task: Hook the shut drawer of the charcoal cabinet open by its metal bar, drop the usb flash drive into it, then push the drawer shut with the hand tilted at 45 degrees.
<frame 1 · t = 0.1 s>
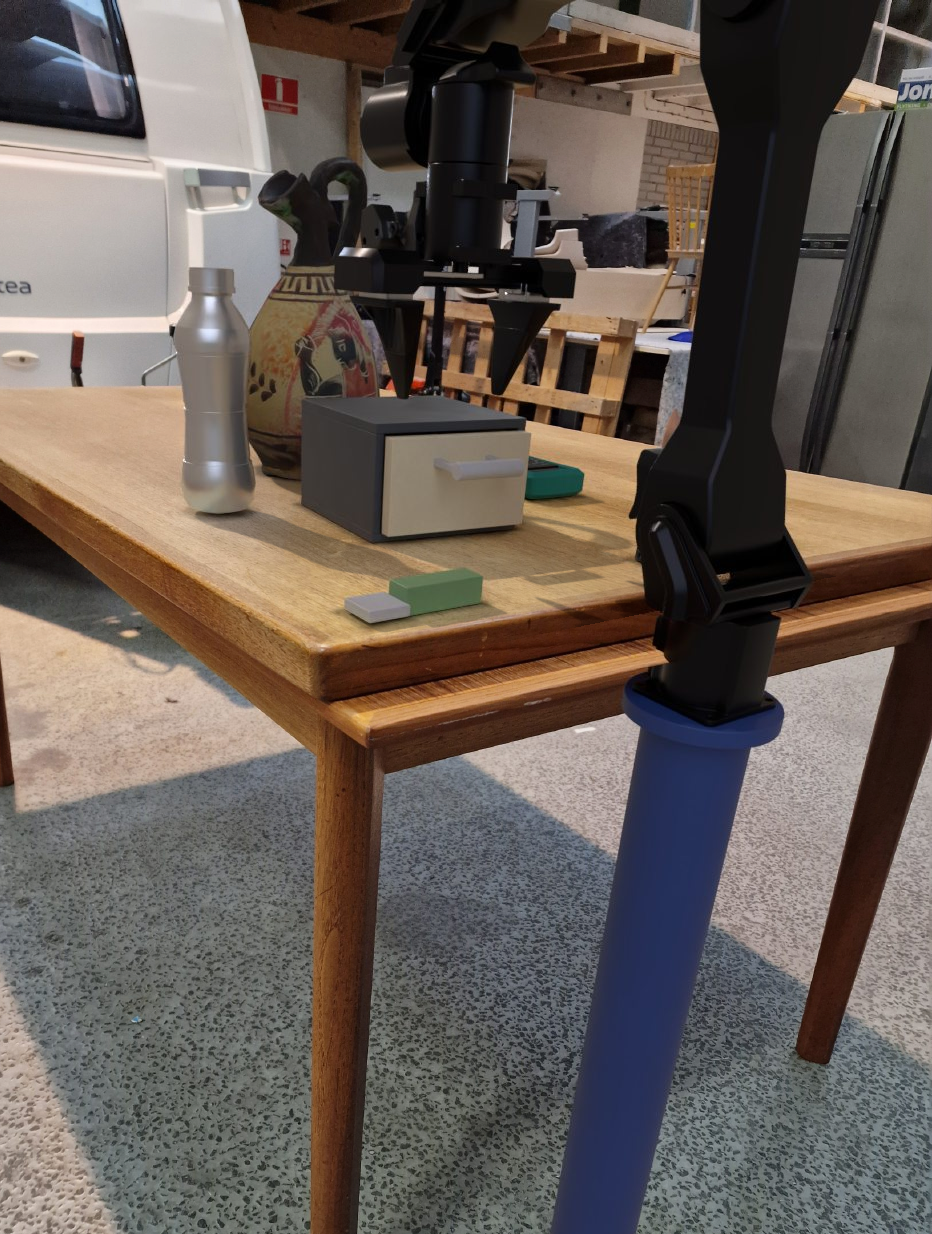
hand: (451, 396, 76), 12 cm above the table, tool pointing down, fingers open, 9 cm apart
usb flash drive: (417, 608, 66), on the table
ammunition clip: (688, 558, 81), on the table
digital multimeter: (513, 486, 104), on the table
drawer: (433, 473, 84), point 5 cm above the table, slide at 0.5 cm
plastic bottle: (219, 514, 88), on the table
cabinet: (405, 516, 89), on the table
ceramic jug: (312, 473, 106), on the table
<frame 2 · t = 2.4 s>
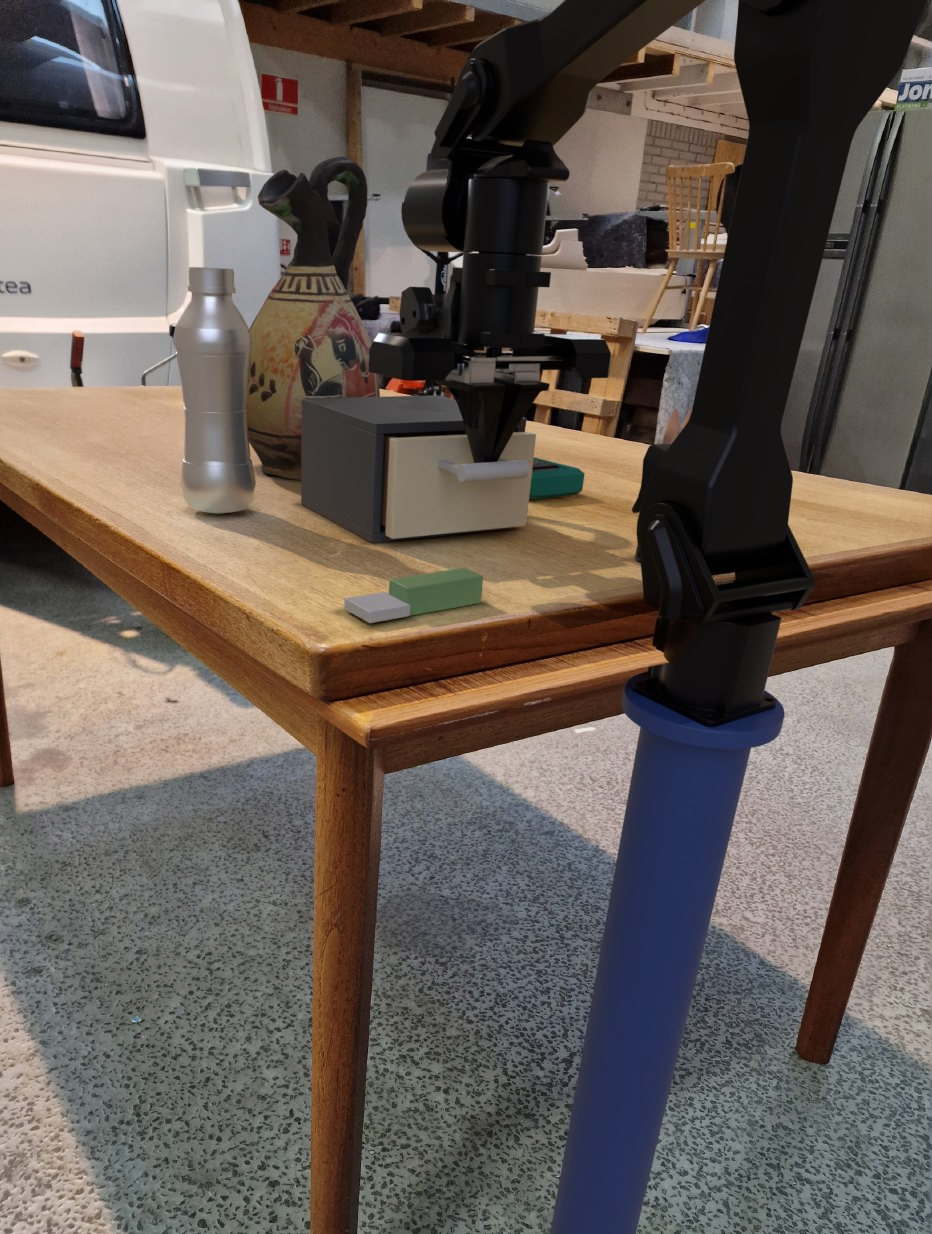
hand: (483, 472, 77), 6 cm above the table, tool pointing down, fingers closed, pressing on drawer
drawer: (437, 474, 83), point 5 cm above the table, slide at 1.2 cm, touching gripper
everything else where it was.
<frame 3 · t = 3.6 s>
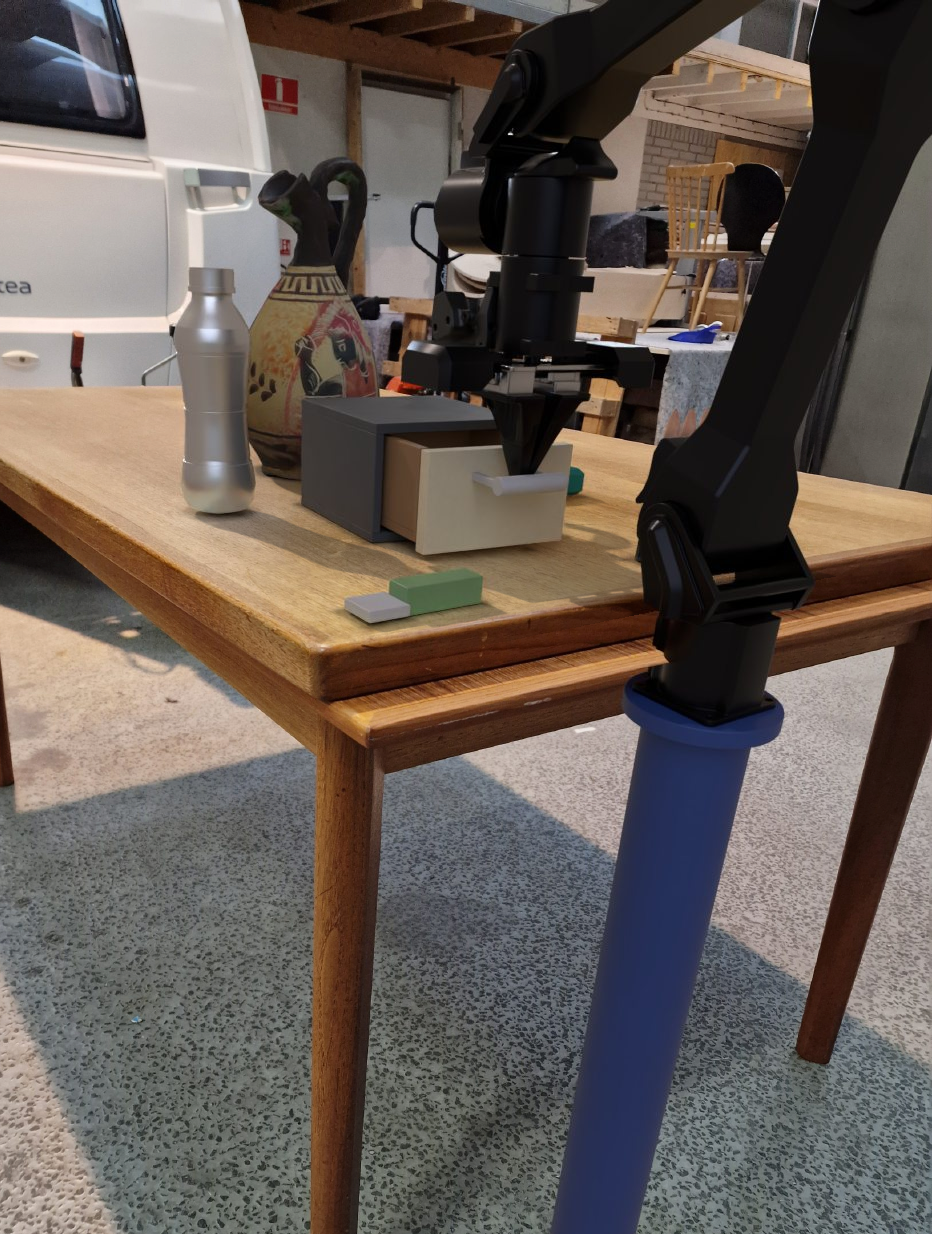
hand: (519, 486, 73), 6 cm above the table, tool pointing down, fingers closed, pressing on drawer
drawer: (468, 487, 79), point 5 cm above the table, slide at 6.1 cm, touching gripper
everything else where it was.
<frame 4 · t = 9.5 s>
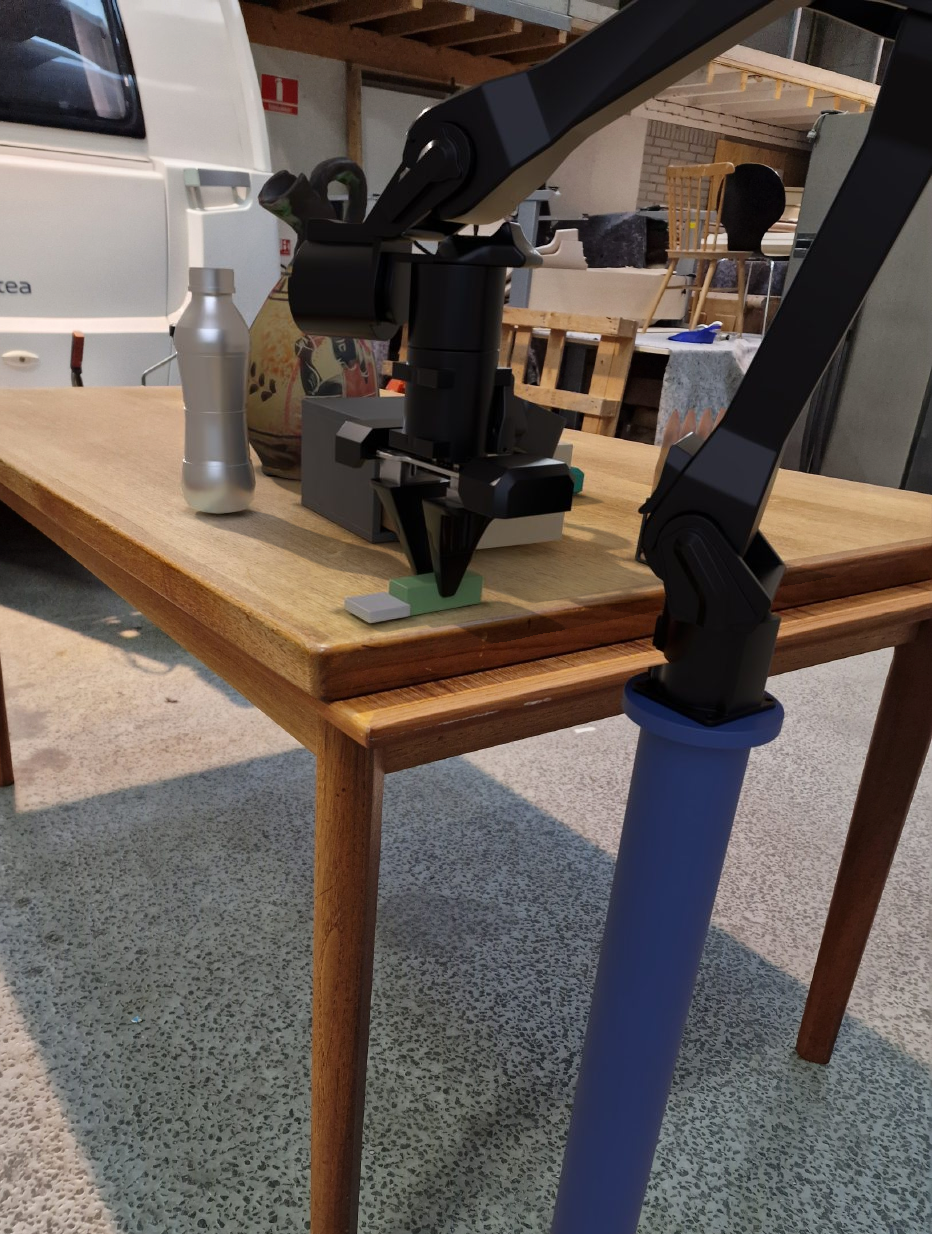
hand: (436, 591, 66), 1 cm above the table, tool pointing down, fingers closed on usb flash drive, 2 cm apart
usb flash drive: (417, 608, 66), on the table, touching gripper
drawer: (468, 487, 79), point 5 cm above the table, slide at 6.1 cm
everything else where it was.
when the fingers open (8 cm above the table, at t = 13.7 s): usb flash drive drops 5 cm, resting on drawer.
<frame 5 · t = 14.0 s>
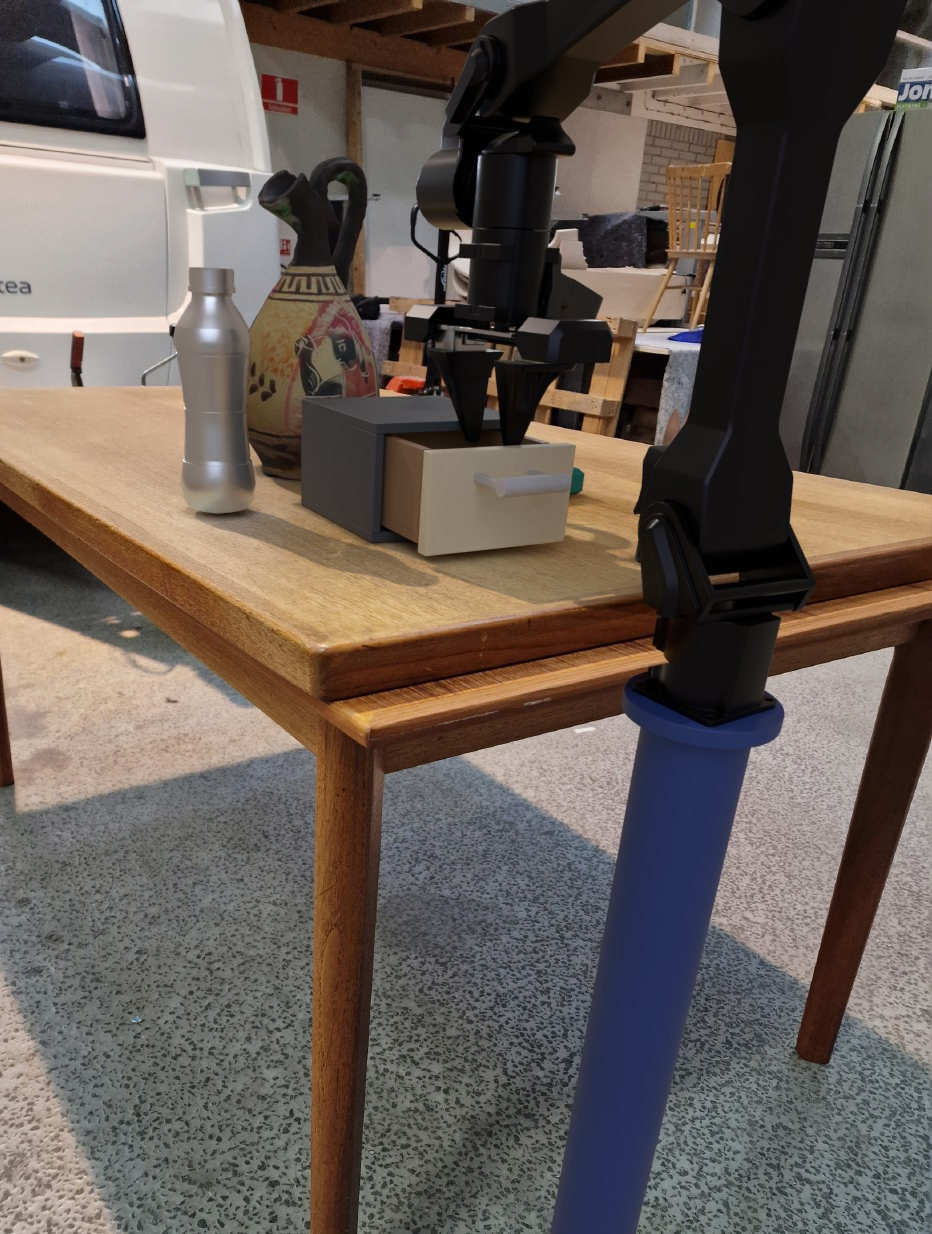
hand: (491, 447, 78), 8 cm above the table, tool pointing down, fingers open, 5 cm apart
usb flash drive: (473, 524, 80), point 2 cm above the table, touching drawer
drawer: (470, 487, 79), point 5 cm above the table, slide at 6.5 cm, touching usb flash drive
everything else where it was.
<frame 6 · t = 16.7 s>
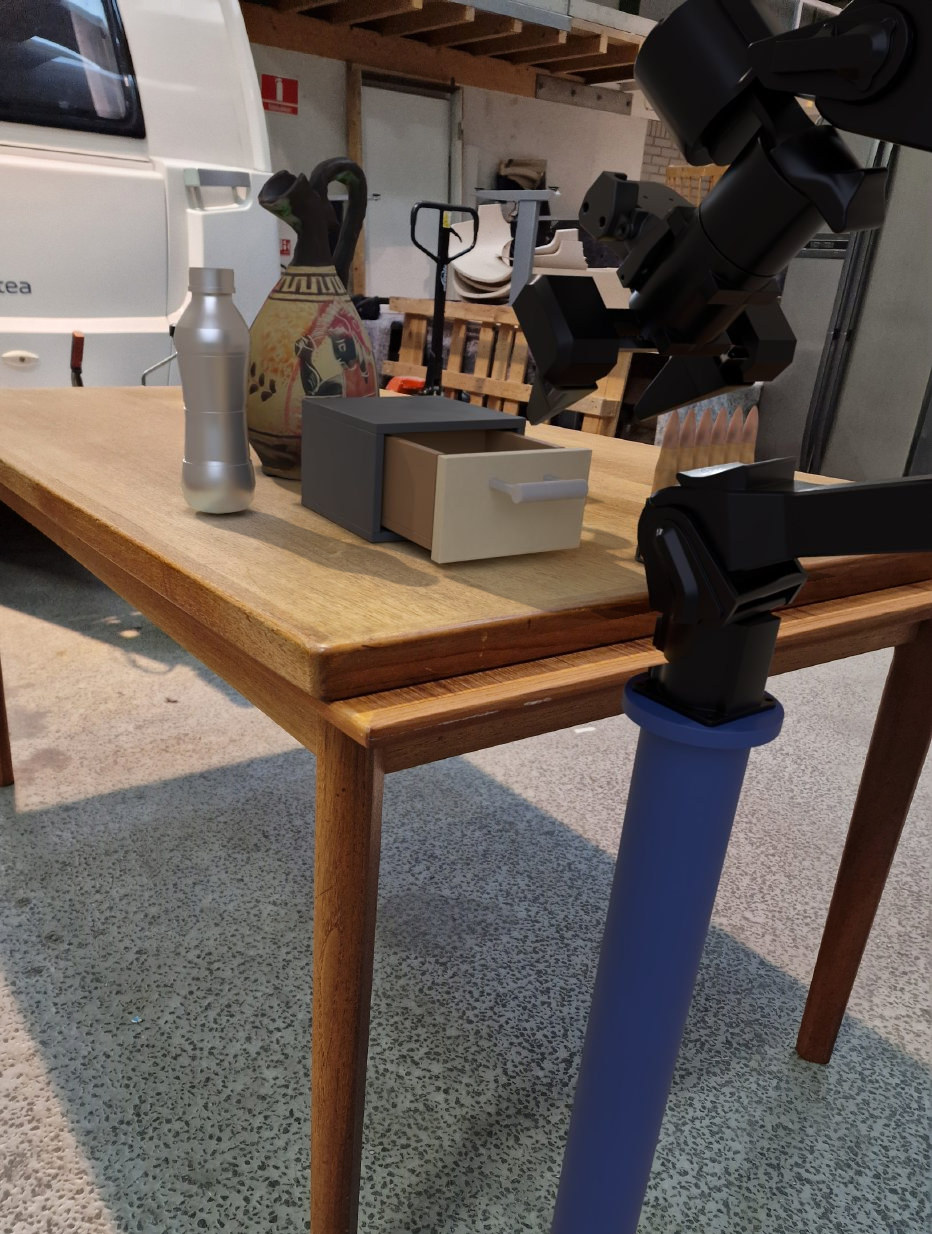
hand: (585, 417, 65), 12 cm above the table, tool tilted 45°, fingers open, 9 cm apart
usb flash drive: (487, 530, 78), point 2 cm above the table, touching drawer
drawer: (484, 493, 77), point 5 cm above the table, slide at 8.5 cm, touching usb flash drive
everything else where it was.
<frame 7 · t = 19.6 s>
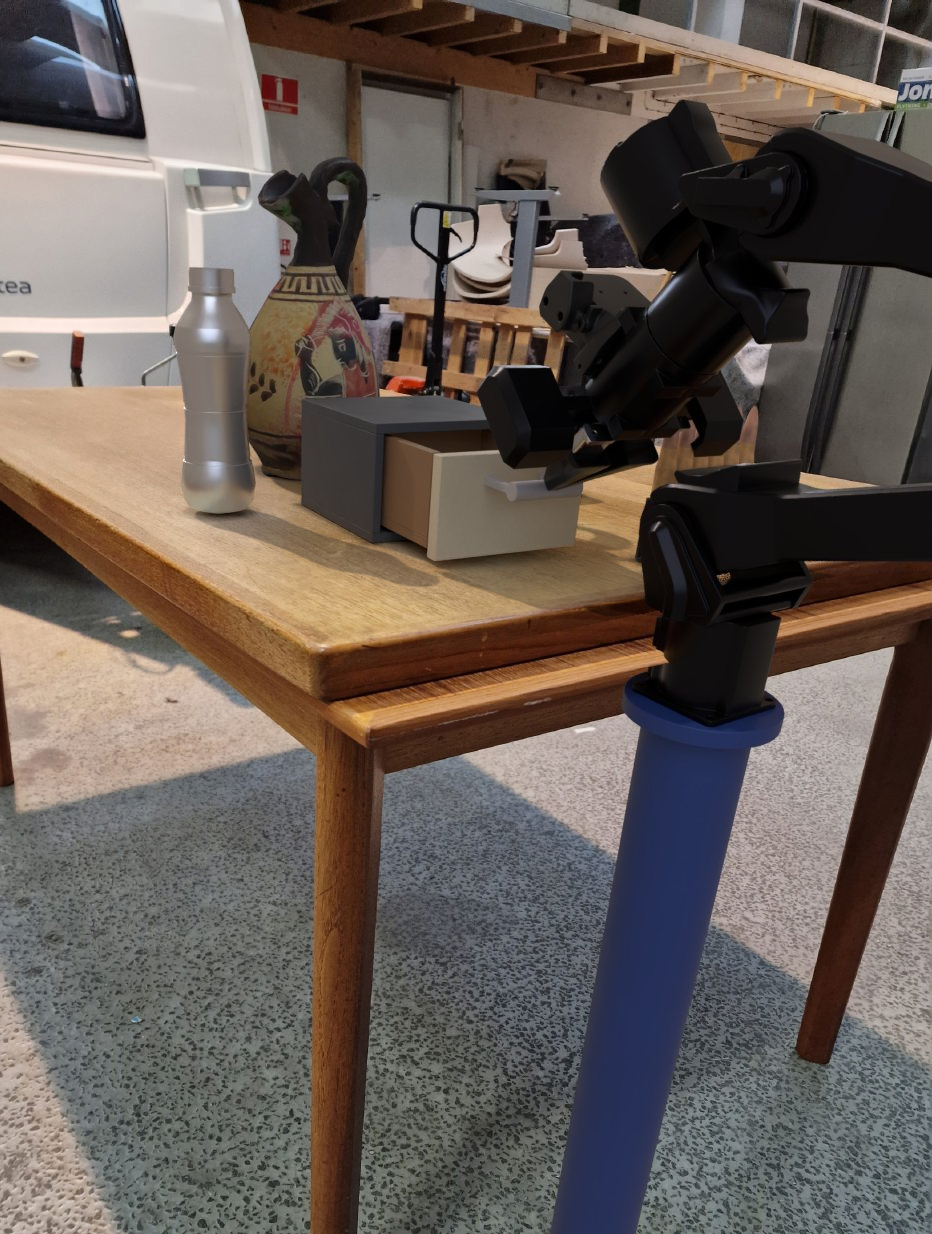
hand: (549, 484, 70), 7 cm above the table, tool tilted 45°, fingers closed, pressing on drawer
drawer: (480, 491, 78), point 5 cm above the table, slide at 7.9 cm, touching gripper, usb flash drive
everything else where it was.
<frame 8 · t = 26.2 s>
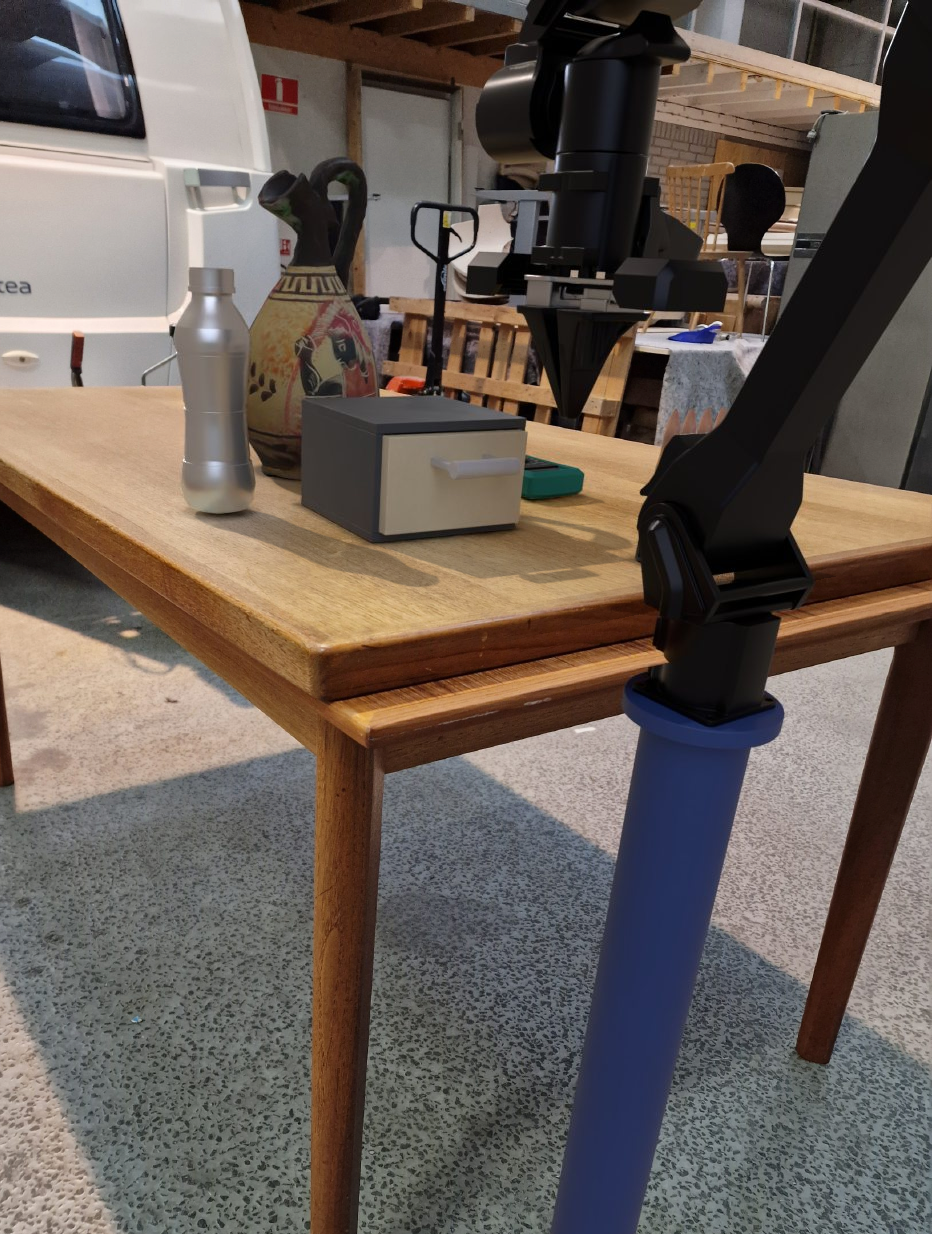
hand: (569, 418, 67), 12 cm above the table, tool pointing down, fingers closed
usb flash drive: (432, 506, 85), point 2 cm above the table, touching drawer
drawer: (430, 472, 84), point 5 cm above the table, slide at 0.0 cm, touching usb flash drive
everything else where it was.
at the end: drawer pulled out 8.5 cm at the most during the clip, back to where it started at the end; usb flash drive inside the target area in the cabinet (4.3 cm from its centre), point 2.0 cm above the cabinet's base; drawer slide at 0.0 cm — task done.
